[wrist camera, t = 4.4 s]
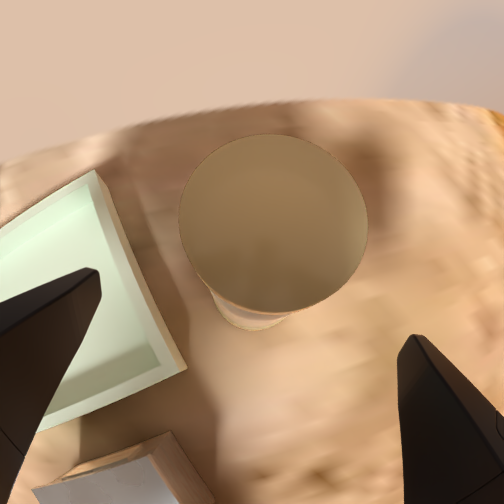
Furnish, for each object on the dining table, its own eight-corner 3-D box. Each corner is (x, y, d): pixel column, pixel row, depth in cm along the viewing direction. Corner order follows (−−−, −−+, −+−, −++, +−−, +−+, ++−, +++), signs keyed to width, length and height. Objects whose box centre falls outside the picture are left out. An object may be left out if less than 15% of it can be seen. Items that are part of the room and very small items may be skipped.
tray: (188, 368, 17) (180, 372, 14) (31, 434, 15) (10, 442, 12) (108, 187, 20) (94, 169, 17) (-22, 270, 18) (-43, 262, 15)
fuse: (309, 305, 18) (400, 252, 8) (237, 345, 17) (235, 348, 7) (269, 236, 19) (304, 113, 9) (198, 272, 18) (150, 178, 8)
